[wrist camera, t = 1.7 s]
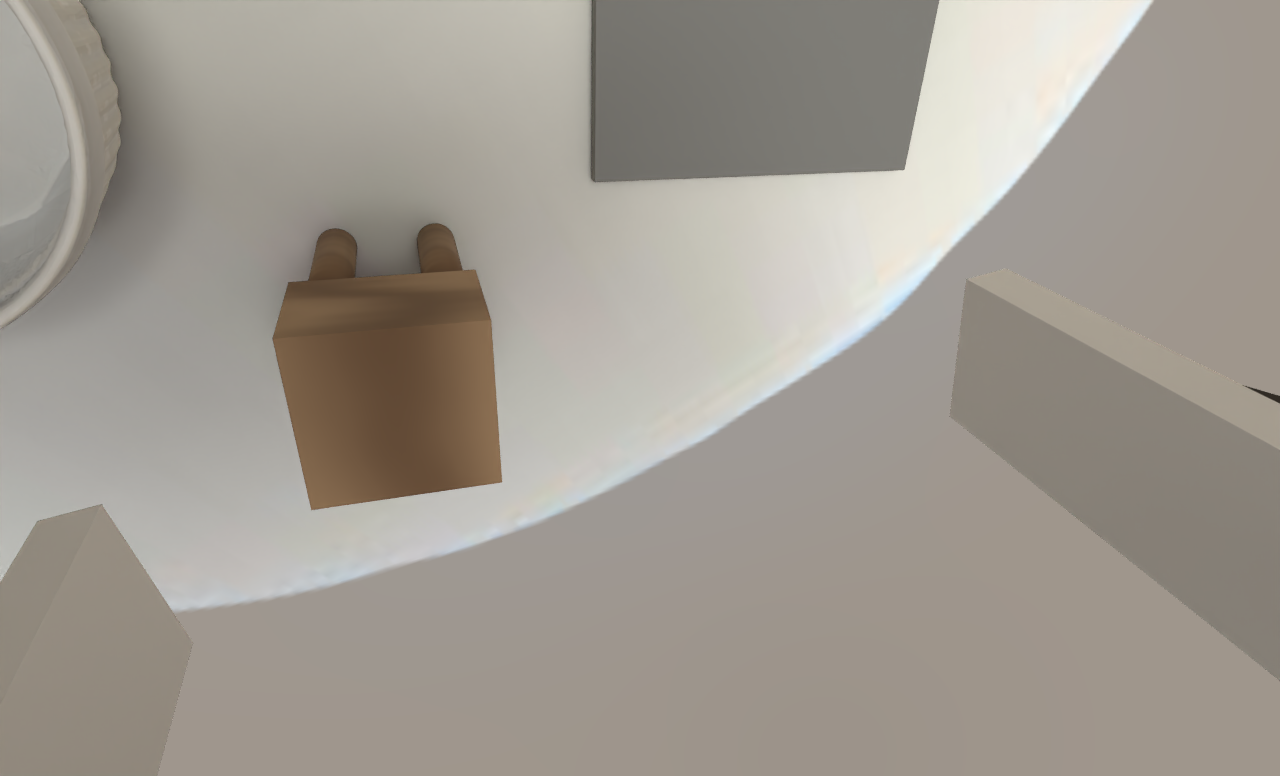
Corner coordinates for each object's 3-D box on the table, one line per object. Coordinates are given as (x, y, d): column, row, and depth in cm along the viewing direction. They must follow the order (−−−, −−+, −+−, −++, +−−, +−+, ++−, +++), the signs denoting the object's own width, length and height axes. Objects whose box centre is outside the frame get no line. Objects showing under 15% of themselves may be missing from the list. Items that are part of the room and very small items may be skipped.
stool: (330, 357, 30) (311, 510, 22) (305, 223, 27) (272, 338, 19) (469, 344, 31) (502, 482, 23) (458, 215, 29) (490, 319, 20)
